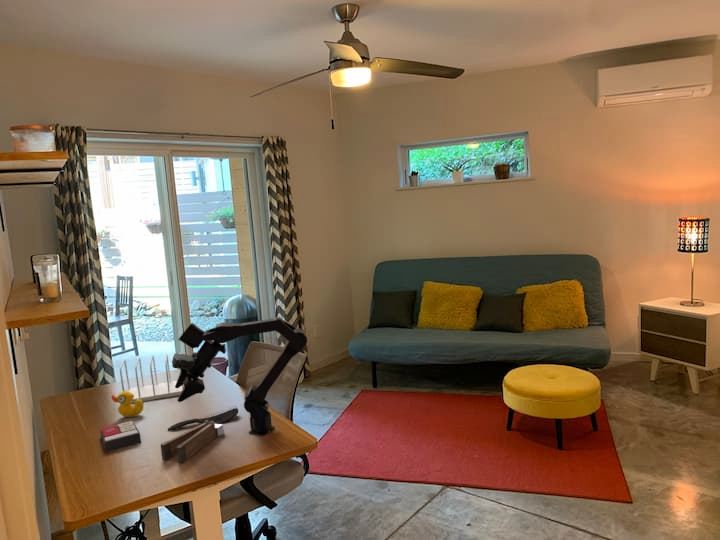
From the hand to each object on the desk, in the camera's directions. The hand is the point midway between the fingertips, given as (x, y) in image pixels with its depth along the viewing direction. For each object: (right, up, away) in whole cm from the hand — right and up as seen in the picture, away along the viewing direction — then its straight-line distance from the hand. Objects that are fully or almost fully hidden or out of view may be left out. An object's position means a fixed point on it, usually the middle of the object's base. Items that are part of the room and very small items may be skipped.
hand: (177, 394), depth 175 cm
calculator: (-22, -18, +6) cm, 29 cm away
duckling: (-28, -15, +28) cm, 42 cm away
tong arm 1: (+5, -16, -4) cm, 17 cm away
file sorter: (-27, -12, +52) cm, 60 cm away
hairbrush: (+4, -15, +16) cm, 22 cm away
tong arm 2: (+9, -16, -6) cm, 19 cm away
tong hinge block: (+11, -15, +5) cm, 19 cm away
